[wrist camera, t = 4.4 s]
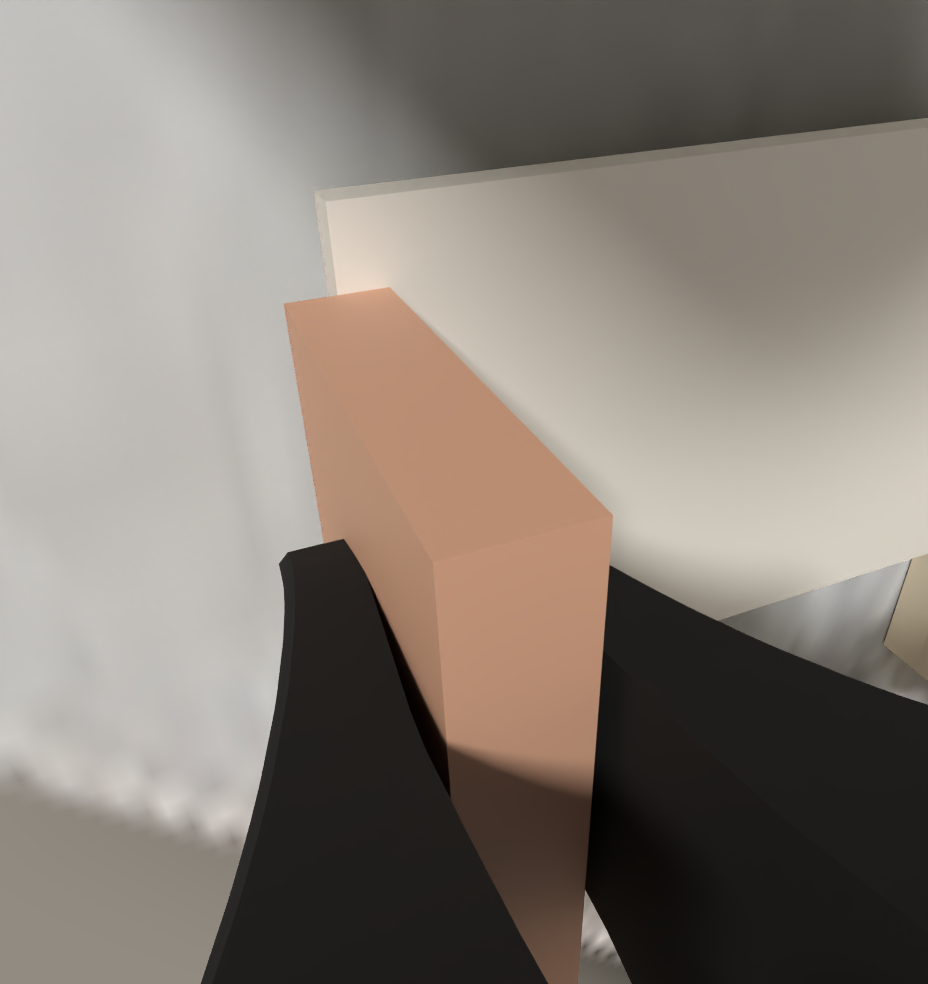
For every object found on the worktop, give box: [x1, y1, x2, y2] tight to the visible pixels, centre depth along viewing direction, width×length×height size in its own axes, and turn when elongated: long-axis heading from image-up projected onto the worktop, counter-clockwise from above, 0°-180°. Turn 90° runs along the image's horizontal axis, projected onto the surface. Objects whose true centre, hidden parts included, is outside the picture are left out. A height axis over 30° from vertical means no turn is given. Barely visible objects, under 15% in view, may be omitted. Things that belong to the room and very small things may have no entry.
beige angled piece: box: [284, 118, 928, 984], centre depth 11 cm, size 15×8×6 cm, turn 92°
